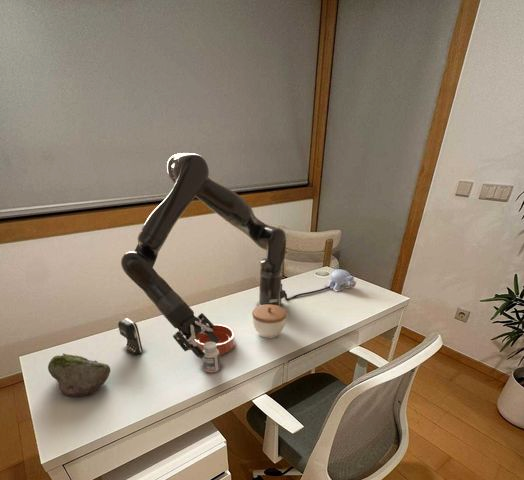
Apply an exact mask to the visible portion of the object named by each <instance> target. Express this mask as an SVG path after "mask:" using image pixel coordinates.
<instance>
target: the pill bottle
mask: <svg viewBox="0 0 524 480" xmlns="http://www.w3.org/2000/svg"><path fill="white" fill-rule="evenodd" d="M203 352H204V353H205V355H204V356H203V357H202V362H203V369H204V371H206V373H207V372H208V373H215V372H218V371H220V369H221V359H220V358H221V356H220V355H219V350H218V349H217V345H216V343H215V342H206V343H205V344H204V350H203Z"/></svg>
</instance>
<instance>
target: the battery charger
mask: <svg viewBox="0 0 524 480" xmlns="http://www.w3.org/2000/svg"><path fill="white" fill-rule="evenodd" d="M117 324H118V325H117V326H118V331H119V334H120V336H122V337H124V338H125V339H126V346H125V349H126V350H127V351H129V352H130V353H132V354H133V355H138V354H142V353H143V351H144V350H143V345H142V341H141V336H140V331H139V328H138V325H137V323H136V322H134V321H133V320H132V319H130V318H129V317H127V318H124V319H121V320H119V321H118V323H117Z"/></svg>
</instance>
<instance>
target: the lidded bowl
mask: <svg viewBox="0 0 524 480" xmlns="http://www.w3.org/2000/svg"><path fill="white" fill-rule="evenodd" d="M251 314H252V315H251V316H252V324H253V328H254V330H255V331H256V332H257V334H258V335H260V337H262V338H266V339H273V338H276V337H277V336H278V335H279V334H281V333H282V331H283V330H284V329H285V325H286V323H287V322H286V321H287V316H288V315H287V314H288V313H287V310H286V309H285V308H284V307H282V306H281V305H280V306H277V305H260V306H259V305H258V306H255V307H254V308H253V309H252V310H251Z"/></svg>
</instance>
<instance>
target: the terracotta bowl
mask: <svg viewBox="0 0 524 480" xmlns="http://www.w3.org/2000/svg"><path fill="white" fill-rule="evenodd" d="M207 325H208V324H207ZM213 325H214V328H213V333H214V334H215V335H216V336H217V337H218V339H219V342H218V343H217V344H216V345H217V349H218V350H219V355H223V354H227V353H228V352H230V351H231V350H233V348H234V347H235V343H236V342H235V332H234V330H233V329H232V328H231V327H229V326H227V325H223V324H213ZM208 326H209V325H208ZM195 337H196V339H195V342H196V346H197V345H198V347H199V348H200V349H201V350H202V351H203V350H204V344H205V343H206V342H212V341H211V340H210V339H209V338H208V335H206V334H203V333H199V334H197V335H196V336H195Z"/></svg>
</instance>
